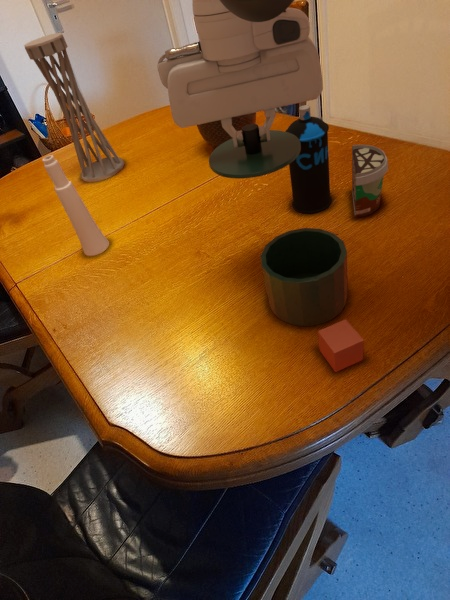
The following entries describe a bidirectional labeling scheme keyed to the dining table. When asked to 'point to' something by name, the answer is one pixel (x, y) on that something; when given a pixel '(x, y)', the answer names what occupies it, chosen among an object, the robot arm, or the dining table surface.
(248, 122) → the planter
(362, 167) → the food container
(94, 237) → the cosmetic bottle
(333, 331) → the block
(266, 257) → the tin
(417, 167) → the dining table surface
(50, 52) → the lattice tower
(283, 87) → the robot arm
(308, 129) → the aerosol can
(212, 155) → the lid
